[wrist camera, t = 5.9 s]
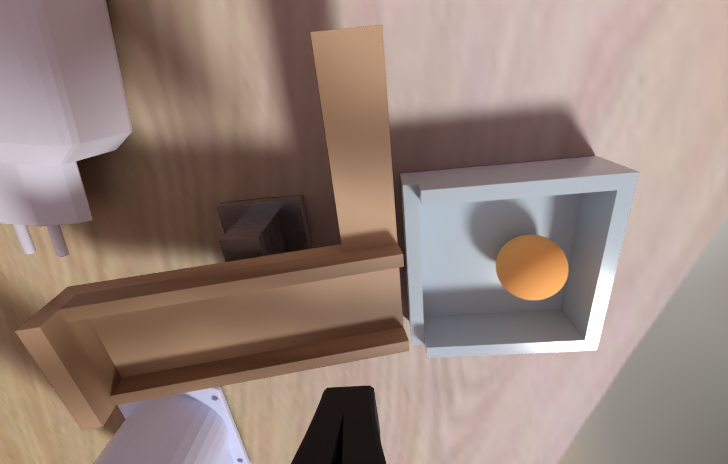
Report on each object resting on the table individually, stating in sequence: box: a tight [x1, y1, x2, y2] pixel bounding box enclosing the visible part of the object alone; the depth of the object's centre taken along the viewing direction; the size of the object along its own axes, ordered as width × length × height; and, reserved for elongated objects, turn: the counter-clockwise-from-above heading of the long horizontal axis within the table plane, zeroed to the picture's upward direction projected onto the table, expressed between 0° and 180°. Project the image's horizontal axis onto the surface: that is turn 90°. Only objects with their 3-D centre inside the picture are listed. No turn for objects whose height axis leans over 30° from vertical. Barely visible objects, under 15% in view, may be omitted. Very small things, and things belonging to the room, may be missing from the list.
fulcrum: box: [217, 195, 312, 262], centre depth 18 cm, size 8×4×4 cm, turn 6°
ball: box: [496, 235, 569, 300], centre depth 17 cm, size 3×3×3 cm
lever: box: [15, 25, 409, 431], centre depth 13 cm, size 13×14×3 cm
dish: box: [400, 156, 639, 358], centre depth 17 cm, size 9×9×3 cm
